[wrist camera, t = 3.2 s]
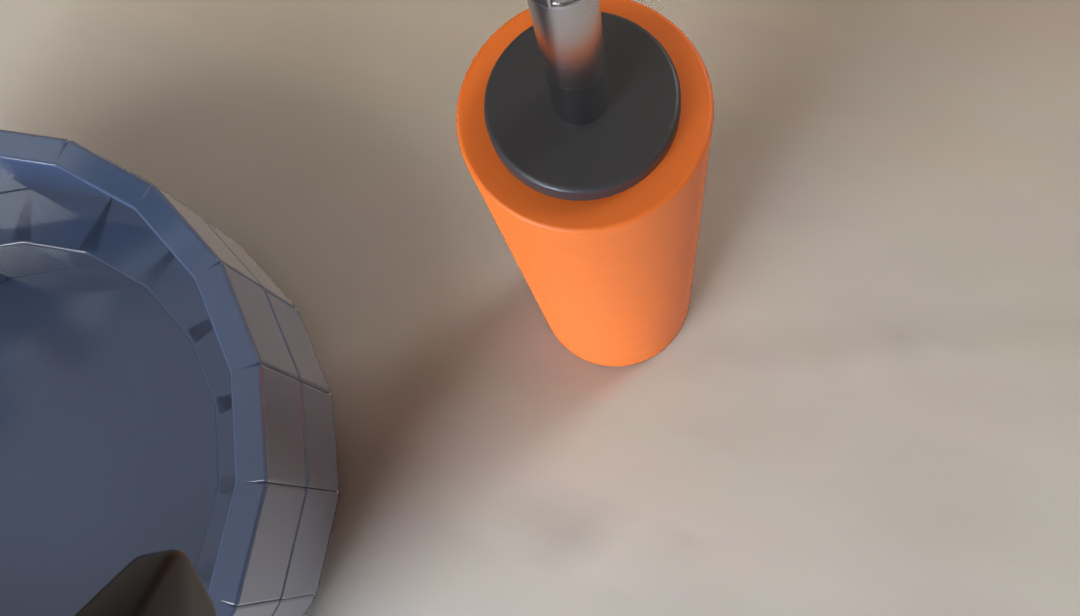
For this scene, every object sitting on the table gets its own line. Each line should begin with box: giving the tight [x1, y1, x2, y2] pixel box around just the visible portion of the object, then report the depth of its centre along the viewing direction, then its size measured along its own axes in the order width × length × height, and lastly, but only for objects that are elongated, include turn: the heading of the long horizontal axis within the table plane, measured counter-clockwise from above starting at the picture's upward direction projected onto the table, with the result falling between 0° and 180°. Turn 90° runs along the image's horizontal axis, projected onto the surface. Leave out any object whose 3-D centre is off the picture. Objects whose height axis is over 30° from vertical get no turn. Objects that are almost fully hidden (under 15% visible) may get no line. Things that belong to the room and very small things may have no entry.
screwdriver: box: [456, 0, 714, 366], centre depth 15 cm, size 3×3×13 cm
